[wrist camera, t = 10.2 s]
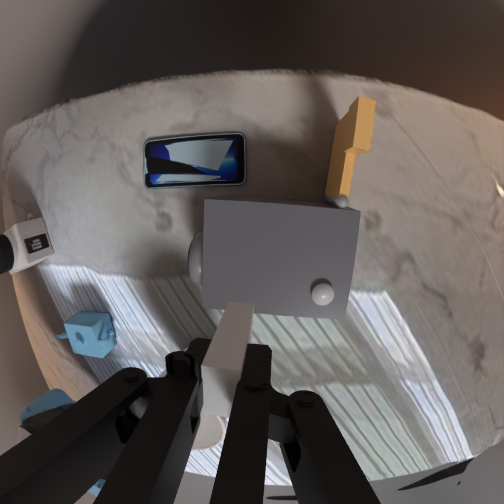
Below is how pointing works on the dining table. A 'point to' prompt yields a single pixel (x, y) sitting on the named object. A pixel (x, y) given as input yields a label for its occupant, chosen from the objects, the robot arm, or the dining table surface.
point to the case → (275, 255)
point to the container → (24, 246)
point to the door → (349, 149)
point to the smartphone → (195, 161)
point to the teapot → (90, 333)
